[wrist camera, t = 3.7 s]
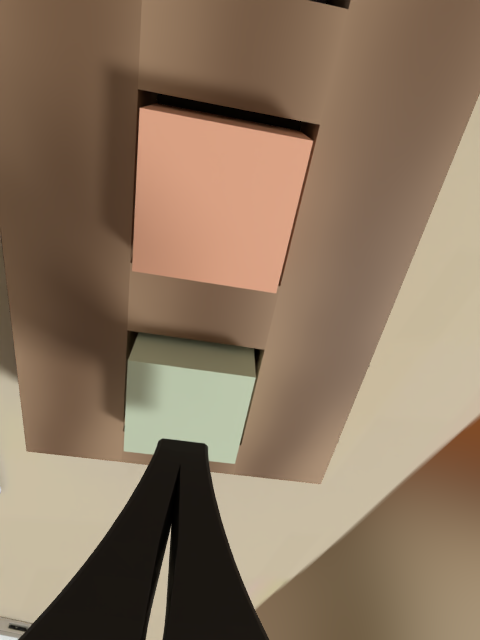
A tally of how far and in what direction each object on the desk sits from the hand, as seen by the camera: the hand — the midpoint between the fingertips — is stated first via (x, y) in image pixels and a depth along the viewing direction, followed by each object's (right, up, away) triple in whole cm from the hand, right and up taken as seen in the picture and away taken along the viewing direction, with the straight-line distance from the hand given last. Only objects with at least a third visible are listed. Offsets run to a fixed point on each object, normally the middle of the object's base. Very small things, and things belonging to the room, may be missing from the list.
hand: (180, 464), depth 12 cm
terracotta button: (+1, +8, 0) cm, 8 cm away
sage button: (0, +2, +4) cm, 4 cm away
